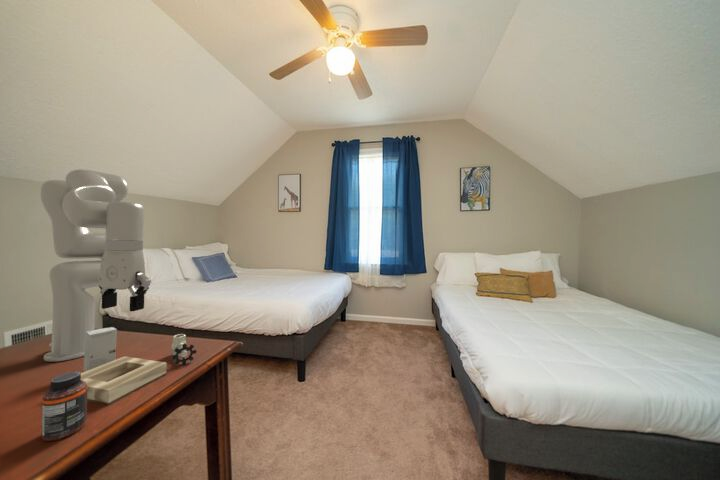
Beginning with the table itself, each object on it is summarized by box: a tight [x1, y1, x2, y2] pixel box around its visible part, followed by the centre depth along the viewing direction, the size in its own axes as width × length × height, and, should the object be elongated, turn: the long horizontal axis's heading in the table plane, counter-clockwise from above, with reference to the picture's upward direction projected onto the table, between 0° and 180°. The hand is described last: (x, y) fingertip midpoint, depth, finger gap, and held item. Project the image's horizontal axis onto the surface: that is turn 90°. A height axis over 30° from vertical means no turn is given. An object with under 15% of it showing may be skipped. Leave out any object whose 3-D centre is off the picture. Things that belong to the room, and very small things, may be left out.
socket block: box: [80, 356, 168, 406], centre depth 67 cm, size 16×14×4 cm
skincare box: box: [82, 326, 118, 373], centre depth 74 cm, size 6×4×12 cm
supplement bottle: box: [40, 371, 88, 442], centre depth 50 cm, size 6×6×11 cm
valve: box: [170, 333, 197, 366], centre depth 82 cm, size 7×7×12 cm
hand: (122, 308), depth 67 cm, fingers open, 9 cm apart
